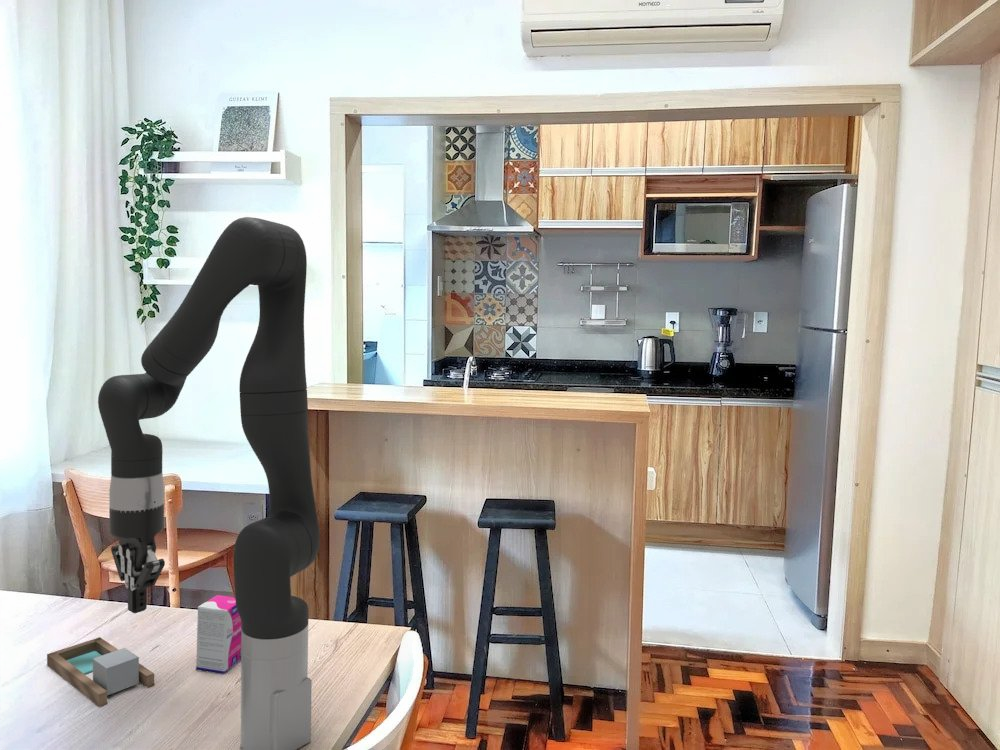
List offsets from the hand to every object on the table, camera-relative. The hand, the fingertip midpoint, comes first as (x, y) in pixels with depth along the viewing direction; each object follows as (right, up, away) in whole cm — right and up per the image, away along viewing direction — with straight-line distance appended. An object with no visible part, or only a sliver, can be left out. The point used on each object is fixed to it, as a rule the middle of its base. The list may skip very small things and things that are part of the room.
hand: (137, 610), depth 107 cm
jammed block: (-6, -15, +5) cm, 17 cm away
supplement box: (+7, -15, +14) cm, 21 cm away
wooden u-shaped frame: (-11, -14, +9) cm, 20 cm away
